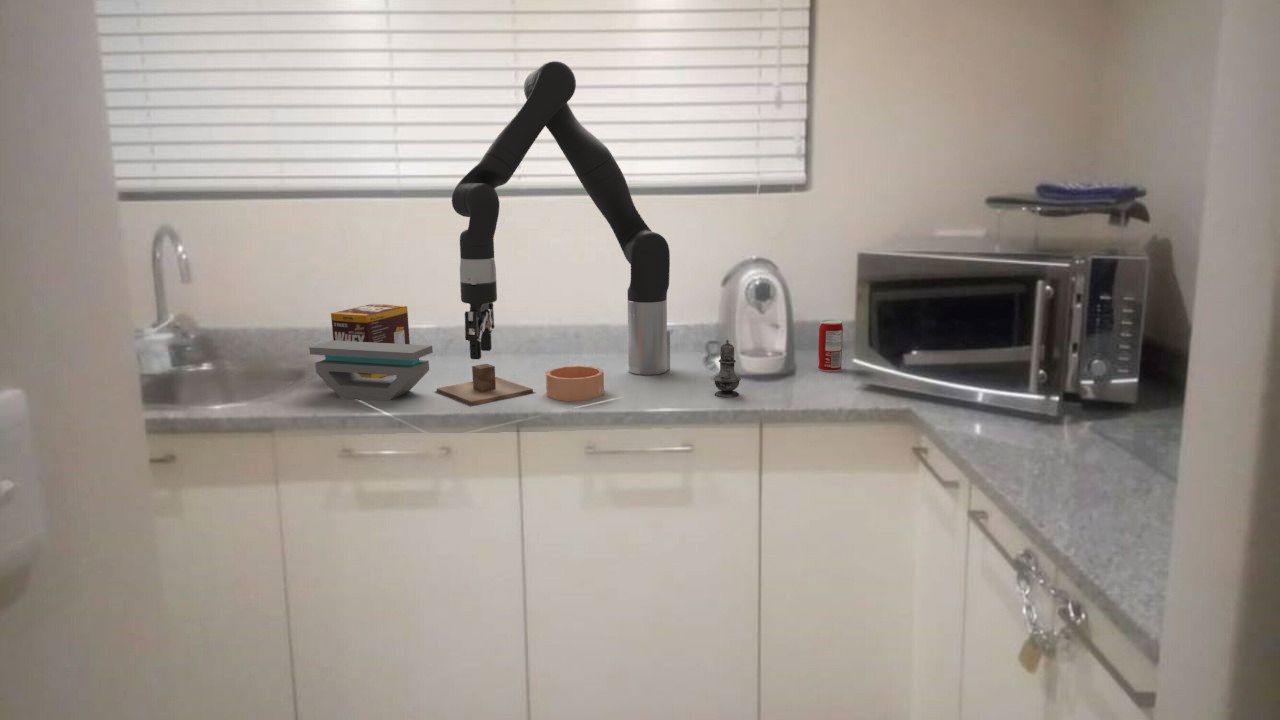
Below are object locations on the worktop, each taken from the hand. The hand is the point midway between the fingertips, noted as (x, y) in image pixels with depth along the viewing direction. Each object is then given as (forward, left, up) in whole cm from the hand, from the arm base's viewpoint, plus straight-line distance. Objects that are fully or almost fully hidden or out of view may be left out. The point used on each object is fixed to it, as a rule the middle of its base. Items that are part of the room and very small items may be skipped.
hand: (481, 354), depth 184 cm
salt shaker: (-38, +36, -9) cm, 53 cm away
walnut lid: (0, 0, -8) cm, 8 cm away
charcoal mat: (0, 0, -9) cm, 9 cm away
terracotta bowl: (-14, +14, -9) cm, 22 cm away
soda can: (-73, +37, -9) cm, 82 cm away
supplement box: (+9, -36, -9) cm, 38 cm away
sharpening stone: (+18, -15, -9) cm, 25 cm away
